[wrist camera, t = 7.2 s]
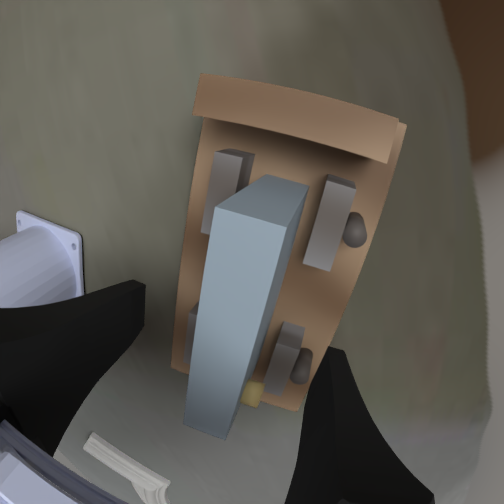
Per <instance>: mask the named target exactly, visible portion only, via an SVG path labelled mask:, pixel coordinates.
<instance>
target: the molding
mask: <svg viewBox="0 0 504 504" xmlns="http://www.w3.org/2000/svg"><path fill="white" fill-rule="evenodd" d="M83 449H84V450H85V451H87V452H88V453H90V454H91V455H92V456H94V457H95V458H97V459H98V460H99V461H101V462H102V463H104V464H105V465H107V466H108V467H110V468H111V469H113V470H114V471H116V472H117V473H119V474H121V475H122V476H124V477H125V478H127V479H129V480H130V481H131V482H132V485H133V487H134V489H135V490H136V492H137V493H138V495H139V496H140V498H141V499H142V500H143V502H144V503H145V504H171V503H170V502H169V500H168V497H167V493H166V491H167V487H168V486H169V484H170V482H171V481H169V480H167V479H165V478H163V477H162V476H160V475H158V474H156V473H155V472H153V471H151V470H150V469H148V468H146V467H145V466H143V465H141V464H140V463H138V462H137V461H135V460H133V459H132V458H130V457H129V456H127V455H126V454H124V453H123V452H121V451H120V450H118V449H117V448H115V447H114V446H112V445H111V444H109V443H108V442H107V441H105V440H104V439H102V438H101V437H100V436H98V435H97V434H95V433H94V432H93V433H92V434H91V435H90V437H89V439H88V440H87V442H86V444H85V445H84V447H83Z"/></svg>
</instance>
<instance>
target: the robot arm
mask: <svg viewBox="0 0 504 504" xmlns="http://www.w3.org/2000/svg"><path fill="white" fill-rule="evenodd" d="M16 219H17V232H18V233H16V234H13V235H11V236H9V237H7V238H5V239H3V240H1V241H0V504H83V503H84V504H128V503H126V502H124V501H122V500H121V499H119V498H117V497H115V496H113V495H111V494H109V493H108V492H106V491H104V490H102V489H101V488H99V487H97V486H95V485H94V484H92V483H90V482H89V481H87V480H85V479H84V478H82V477H80V476H79V475H77V474H76V473H74V472H73V471H71V470H69V469H68V468H67V467H65V466H64V465H62V464H61V463H60V462H58V461H57V460H55V459H54V458H53V455H54V453H55V451H56V449H57V447H58V445H59V443H60V441H61V439H62V437H63V435H64V433H65V431H66V429H67V428H68V426H69V424H70V422H71V421H72V419H73V417H74V416H75V414H76V412H77V411H78V409H79V408H80V406H81V404H82V403H83V401H84V400H85V398H86V397H87V396H88V394H89V393H90V391H91V390H92V388H93V387H94V386H95V384H96V383H97V382H98V381H99V379H100V378H101V377H102V376H103V375H104V374H105V373H106V372H107V371H108V369H109V368H110V367H111V366H112V365H113V364H114V363H115V362H116V361H117V360H118V359H119V358H120V356H121V355H122V354H123V353H124V352H125V351H126V350H127V349H128V348H129V346H130V345H131V344H132V343H133V341H134V340H135V339H136V337H137V336H138V334H139V333H140V331H141V330H142V328H143V327H144V313H145V288H146V285H145V284H143V283H140V282H138V281H135V280H129V281H126V282H122V283H119V284H116V285H113V286H110V287H107V288H104V289H101V290H98V291H95V292H92V293H89V294H86V295H84V285H83V266H82V239H81V236H80V235H79V233H77V232H75V231H72V230H70V229H67V228H65V227H62V226H59V225H57V224H54V223H52V222H49V221H47V220H44V219H42V218H39V217H37V216H34V215H32V214H30V213H27V212H25V211H22V210H20V211H18V212H17V214H16ZM75 245H76V246H75ZM37 471H38V472H39V473H38V472H37ZM42 475H43V476H42ZM46 478H47V479H46ZM49 480H50V481H51V482H50V481H49ZM53 483H54V484H53ZM56 485H57V486H56ZM60 488H61V489H60ZM63 490H64V491H63ZM66 492H67V493H66ZM69 494H70V495H69ZM72 496H73V497H72ZM75 498H76V499H75ZM80 501H81V502H80ZM285 504H435V500H434V494H433V493H432V492H431V491H430V490H429V489H428V488H427V487H425V486H424V485H423V484H422V483H421V482H420V481H419V480H418V479H417V478H416V477H415V476H414V475H413V474H412V473H411V472H410V471H409V470H408V469H407V468H406V466H405V465H404V464H403V463H402V462H401V461H400V459H399V458H398V457H397V456H396V454H395V453H394V452H393V450H392V449H391V448H390V446H389V445H388V444H387V442H386V441H385V439H384V438H383V436H382V435H381V433H380V431H379V430H378V428H377V426H376V425H375V423H374V421H373V420H372V418H371V416H370V414H369V412H368V410H367V408H366V406H365V403H364V401H363V399H362V397H361V394H360V392H359V390H358V387H357V385H356V382H355V380H354V377H353V374H352V371H351V369H350V366H349V363H348V360H347V357H346V354H345V352H344V351H343V350H340V349H336V348H333V347H329V346H328V347H327V350H326V352H325V354H324V356H323V358H322V360H321V363H320V365H319V367H318V369H317V371H316V373H315V375H314V377H313V379H312V381H311V383H310V387H309V391H308V395H307V399H306V403H305V407H304V414H303V422H302V429H301V437H300V444H299V451H298V457H297V462H296V467H295V470H294V474H293V478H292V481H291V485H290V488H289V491H288V494H287V497H286V501H285Z"/></svg>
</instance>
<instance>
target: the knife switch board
mask: <svg viewBox="0 0 504 504" xmlns="http://www.w3.org/2000/svg"><path fill="white" fill-rule="evenodd" d="M192 115H196V116H202V117H204V120H203V125H202V130H201V135H200V141H199V146H198V152H197V157H196V163H195V169H194V175H193V181H192V187H191V193H190V200H189V206H188V213H187V220H186V227H185V234H184V242H183V249H182V257H181V265H180V274H179V282H178V291H177V301H176V310H175V321H174V332H173V343H172V356H171V368H173V369H175V370H178V371H180V372H182V373H185V374H187V375H189V372H190V364H191V356H192V349H193V342H194V334H195V327H196V320H197V314H198V307H199V300H200V294H201V287H202V281H203V274H204V268H205V262H206V256H207V250H208V244H209V238H210V232H211V227H212V221H213V215H214V210H215V206H217V205H219V204H220V203H222V202H223V201H225V200H226V199H228V198H229V197H231V196H233V195H234V194H236V193H237V192H239V191H240V190H242V189H244V188H245V187H247V186H248V185H250V184H251V183H253V182H255V181H256V180H258V179H260V178H261V177H263V176H264V175H266V174H269V175H273V176H276V177H280V178H284V179H287V180H291V181H295V182H298V183H302V184H305V185H309V189H308V193H307V197H306V201H305V204H304V208H303V212H302V215H301V219H300V223H299V226H298V230H297V233H296V237H295V240H294V244H293V248H292V251H291V255H290V258H289V262H288V265H287V268H286V272H285V275H284V279H283V282H282V286H281V289H280V292H279V296H278V299H277V302H276V306H275V309H274V312H273V316H272V319H271V322H270V325H269V329H268V332H267V335H266V338H265V342H264V345H263V348H262V351H261V354H260V357H259V359H258V362H257V364H256V367H255V369H254V372H253V374H252V377H251V379H252V380H255V381H258V382H261V383H264V384H265V387H264V390H263V393H262V396H261V398H260V401H262V402H265V403H268V404H272V405H275V406H278V407H281V408H285V409H288V410H292V411H295V412H297V410H298V408H299V407H300V405H301V403H302V401H303V399H304V397H305V395H306V393H307V391H308V389H309V387H310V383H311V381H312V379H313V377H314V375H315V373H316V371H317V369H318V367H319V365H320V363H321V360H322V358H323V356H324V354H325V352H326V350H327V347H328V346H329V345H330V343H331V340H332V338H333V336H334V334H335V331H336V329H337V327H338V324H339V322H340V320H341V317H342V315H343V313H344V310H345V308H346V306H347V303H348V301H349V298H350V296H351V293H352V291H353V288H354V286H355V283H356V281H357V278H358V276H359V273H360V271H361V268H362V265H363V263H364V260H365V257H366V255H367V252H368V249H369V247H370V244H371V241H372V238H373V235H374V232H375V230H376V227H377V224H378V221H379V218H380V215H381V212H382V209H383V206H384V203H385V200H386V197H387V193H388V190H389V187H390V184H391V180H392V177H393V174H394V170H395V167H396V164H397V160H398V156H399V153H400V149H401V146H402V142H403V138H404V134H405V131H406V127H407V125H406V124H403V123H400V122H398V121H399V119H397V118H395V117H392V116H389V115H386V114H383V113H380V112H377V111H374V110H371V109H368V108H364V107H361V106H358V105H354V104H351V103H348V102H344V101H341V100H337V99H333V98H329V97H326V96H322V95H318V94H314V93H310V92H306V91H301V90H297V89H292V88H288V87H283V86H278V85H273V84H268V83H263V82H257V81H251V80H245V79H239V78H233V77H226V76H219V75H211V74H202V73H201V74H200V78H199V83H198V88H197V92H196V97H195V102H194V107H193V112H192Z"/></svg>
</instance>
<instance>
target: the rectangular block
mask: <svg viewBox="0 0 504 504" xmlns="http://www.w3.org/2000/svg"><path fill="white" fill-rule="evenodd" d="M308 189H309V185H305V184H302V183H298V182H295V181H291V180H287V179H284V178H280V177H276V176H273V175H269V174H266V175H264V176H263V177H261V178H260V179H258V180H256V181H255V182H253V183H251V184H250V185H248V186H247V187H245V188H244V189H242V190H240V191H239V192H237V193H236V194H234V195H233V196H231V197H229V198H228V199H226V200H225V201H223V202H222V203H220V204H219V205H217V206H215V210H214V215H213V221H212V227H211V232H210V238H209V244H208V250H207V256H206V262H205V268H204V274H203V281H202V287H201V294H200V300H199V307H198V314H197V320H196V327H195V334H194V342H193V349H192V356H191V364H190V372H189V380H188V388H187V396H186V405H185V413H184V422H183V424H184V425H187V426H189V427H192V428H194V429H197V430H199V431H202V432H204V433H207V434H210V435H212V436H215V437H218V438H220V439H223V440H226V437H227V435H228V433H229V430H230V428H231V426H232V423H233V421H234V418H235V416H236V414H237V411H238V409H239V406H240V404H241V403H242V404H245V405H248V406H251V407H254V408H257V406H258V404H259V401H260V398H261V396H262V393H263V390H264V387H265V384H264V383H261V382H258V381H255V380H252V379H251V377H252V374H253V372H254V369H255V367H256V364H257V362H258V359H259V357H260V354H261V351H262V348H263V345H264V342H265V338H266V335H267V332H268V329H269V325H270V322H271V319H272V316H273V312H274V309H275V306H276V302H277V299H278V296H279V292H280V289H281V286H282V282H283V279H284V275H285V272H286V268H287V265H288V262H289V258H290V255H291V251H292V248H293V244H294V240H295V237H296V233H297V230H298V226H299V223H300V219H301V215H302V212H303V208H304V204H305V201H306V197H307V193H308Z"/></svg>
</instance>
